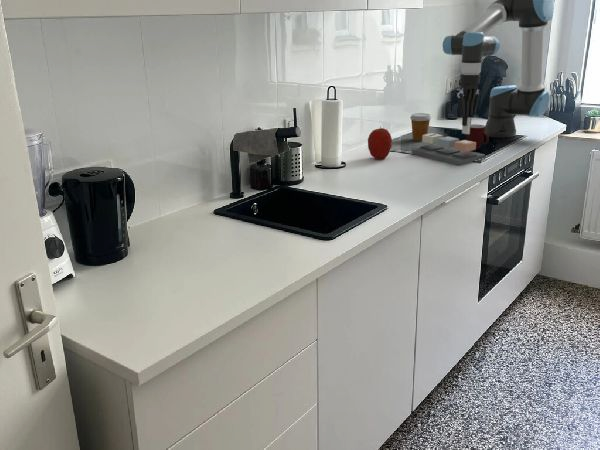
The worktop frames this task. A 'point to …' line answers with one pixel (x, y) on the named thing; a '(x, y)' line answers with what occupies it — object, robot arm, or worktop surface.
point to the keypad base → (447, 154)
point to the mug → (477, 135)
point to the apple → (379, 143)
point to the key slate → (447, 141)
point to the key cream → (431, 138)
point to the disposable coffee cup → (419, 125)
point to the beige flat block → (465, 145)
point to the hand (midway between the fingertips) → (465, 133)
